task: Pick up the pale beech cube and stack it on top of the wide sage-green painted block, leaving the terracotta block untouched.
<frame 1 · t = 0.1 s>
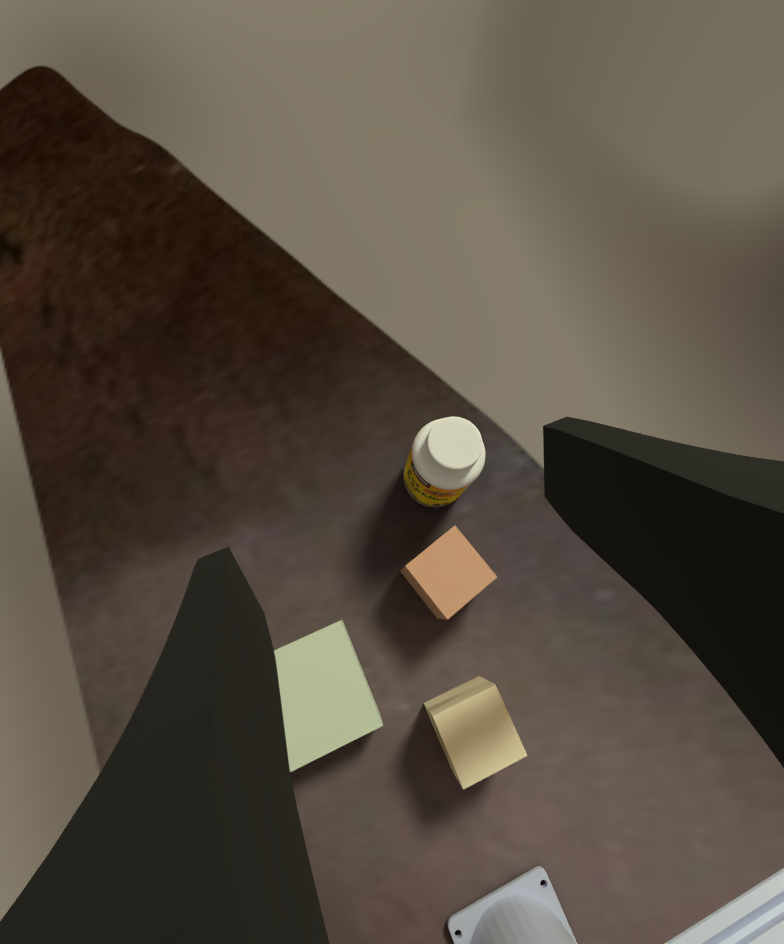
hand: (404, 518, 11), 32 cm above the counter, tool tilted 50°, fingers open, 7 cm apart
terracotta block: (440, 575, 42), on the counter
beech cube: (464, 720, 39), on the counter
sage block: (314, 688, 39), on the counter
supplement bottle: (433, 479, 44), on the counter
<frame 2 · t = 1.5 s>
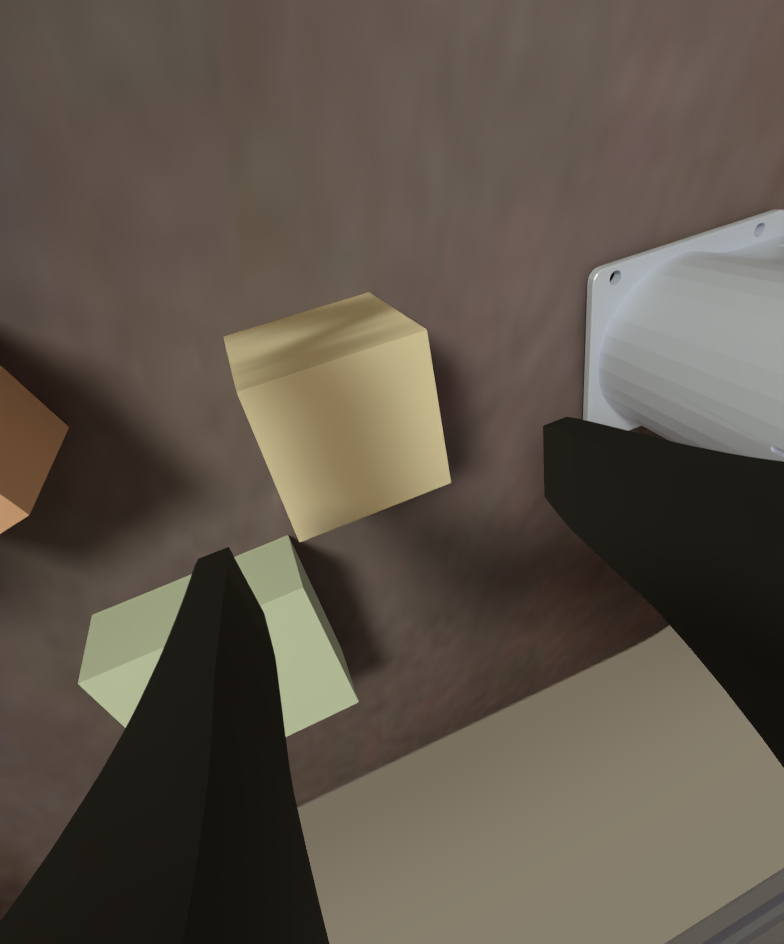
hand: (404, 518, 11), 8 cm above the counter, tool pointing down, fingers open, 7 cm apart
beech cube: (318, 381, 18), on the counter
sage block: (232, 628, 22), on the counter
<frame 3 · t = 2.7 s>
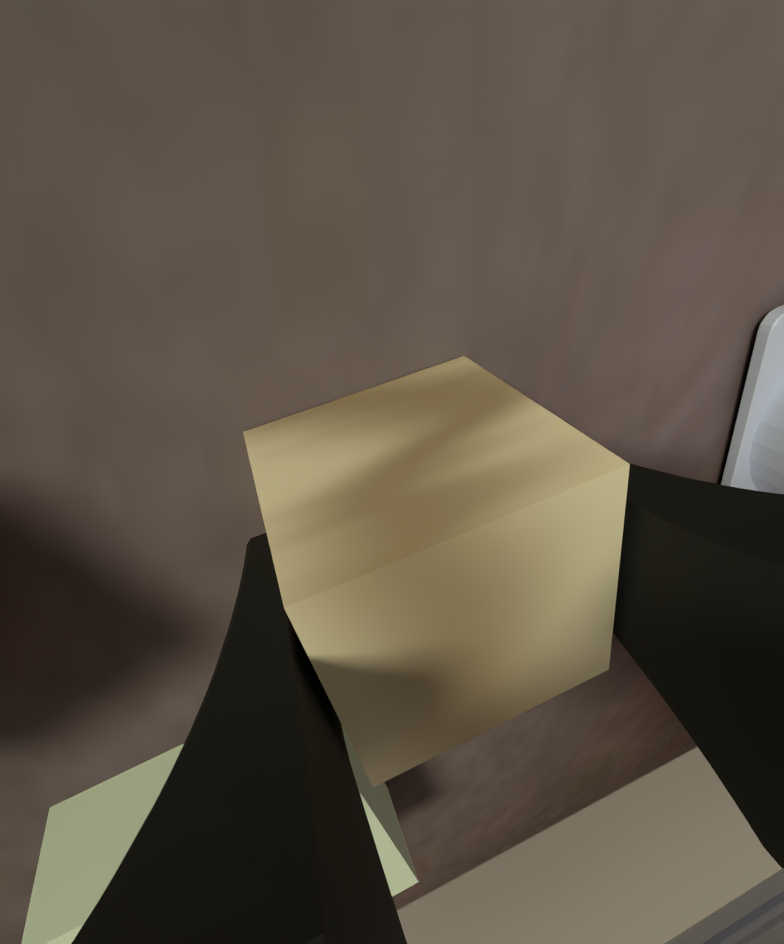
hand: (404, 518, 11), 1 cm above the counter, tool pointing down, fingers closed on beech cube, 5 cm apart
beech cube: (382, 485, 12), on the counter, touching gripper
sage block: (247, 786, 17), on the counter
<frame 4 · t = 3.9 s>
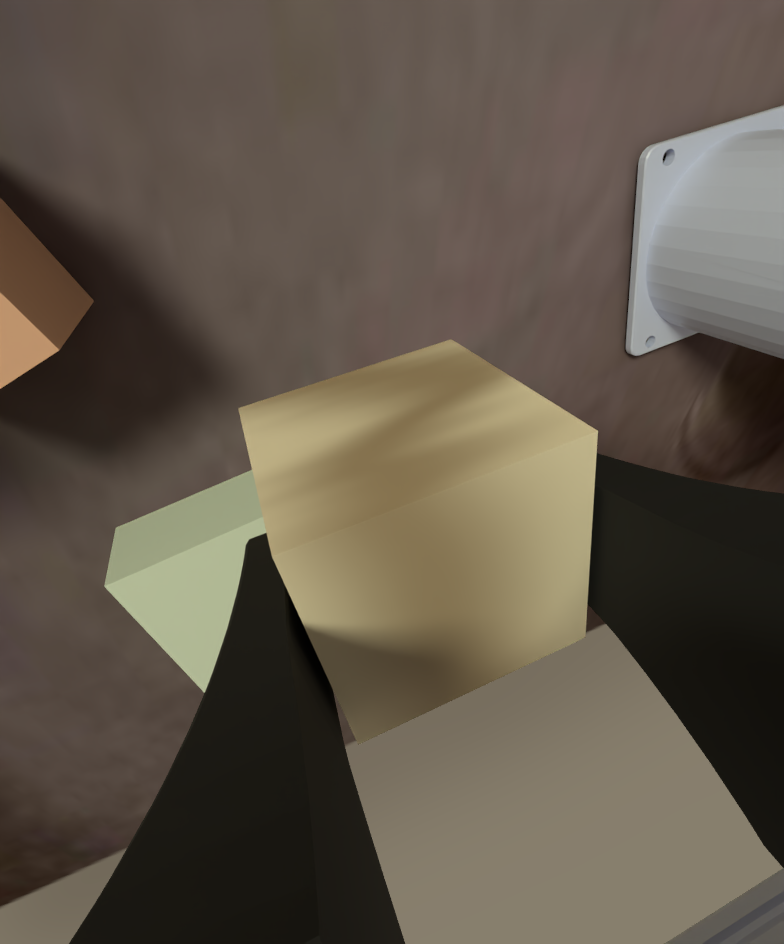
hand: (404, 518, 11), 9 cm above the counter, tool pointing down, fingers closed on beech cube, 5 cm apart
beech cube: (372, 464, 12), point 7 cm above the counter, touching gripper
sage block: (261, 550, 21), on the counter
when the fingers open (6 cm above the counter, at t = 5.4 s): beech cube stays where it is, resting on sage block.
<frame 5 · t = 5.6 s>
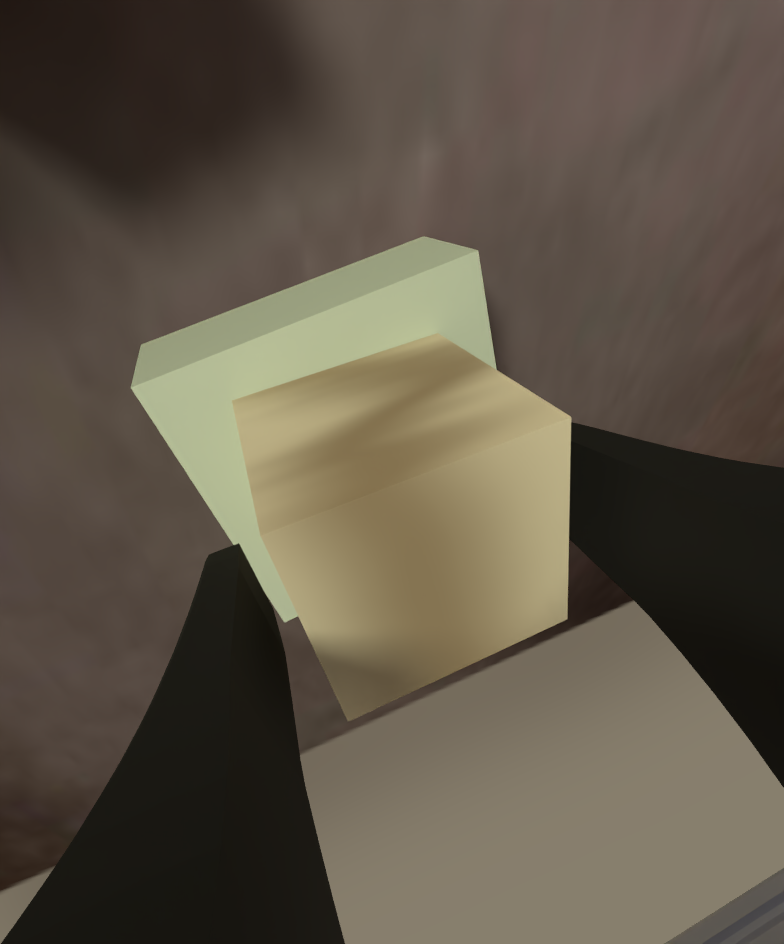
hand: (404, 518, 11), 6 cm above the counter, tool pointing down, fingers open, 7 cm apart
beech cube: (363, 455, 13), point 3 cm above the counter, touching sage block
sage block: (334, 410, 16), on the counter, touching beech cube
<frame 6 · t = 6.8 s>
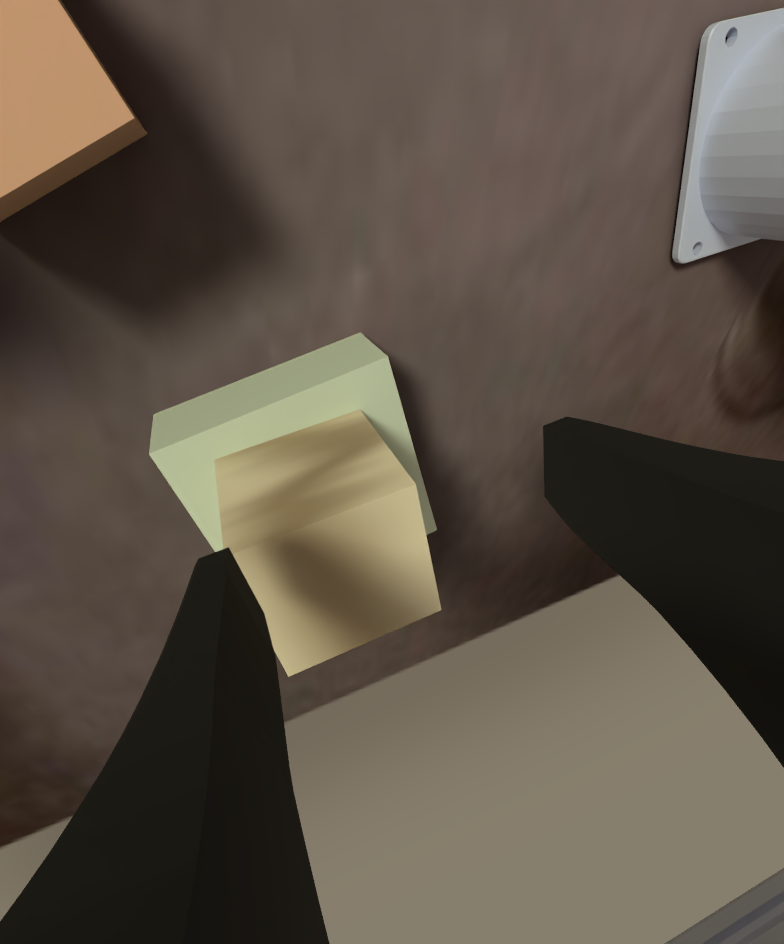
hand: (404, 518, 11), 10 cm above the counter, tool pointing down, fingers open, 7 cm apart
beech cube: (310, 492, 18), point 3 cm above the counter, touching sage block
sage block: (297, 454, 21), on the counter, touching beech cube
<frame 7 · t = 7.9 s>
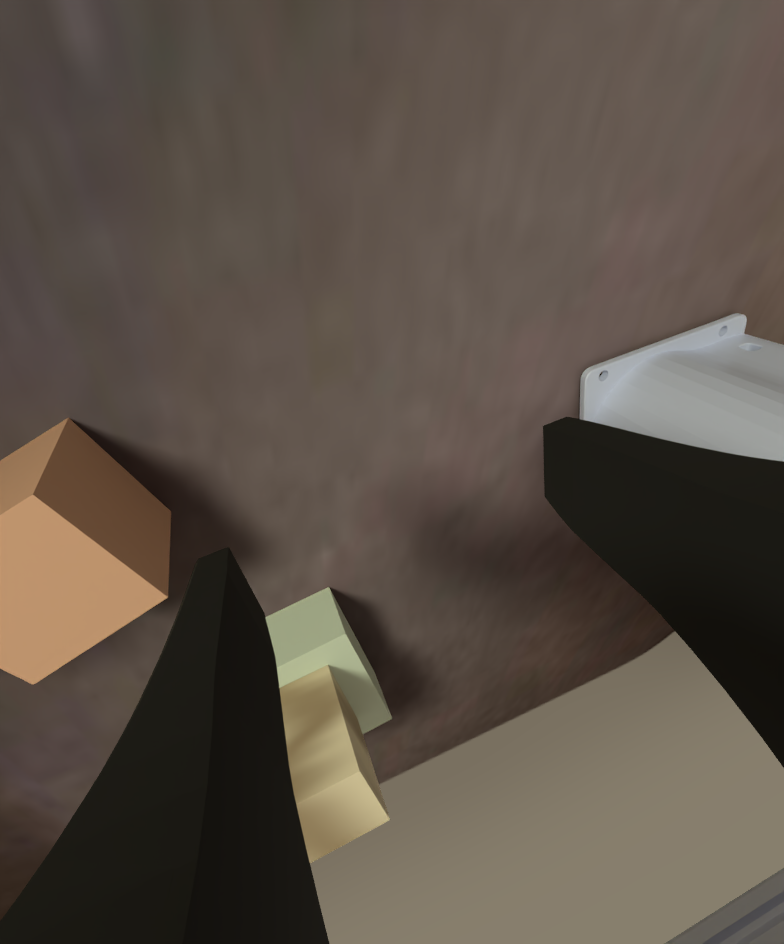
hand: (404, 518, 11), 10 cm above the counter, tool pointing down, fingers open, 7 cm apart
terracotta block: (66, 504, 18), on the counter
beech cube: (295, 716, 24), point 3 cm above the counter, touching sage block
sage block: (284, 661, 27), on the counter, touching beech cube
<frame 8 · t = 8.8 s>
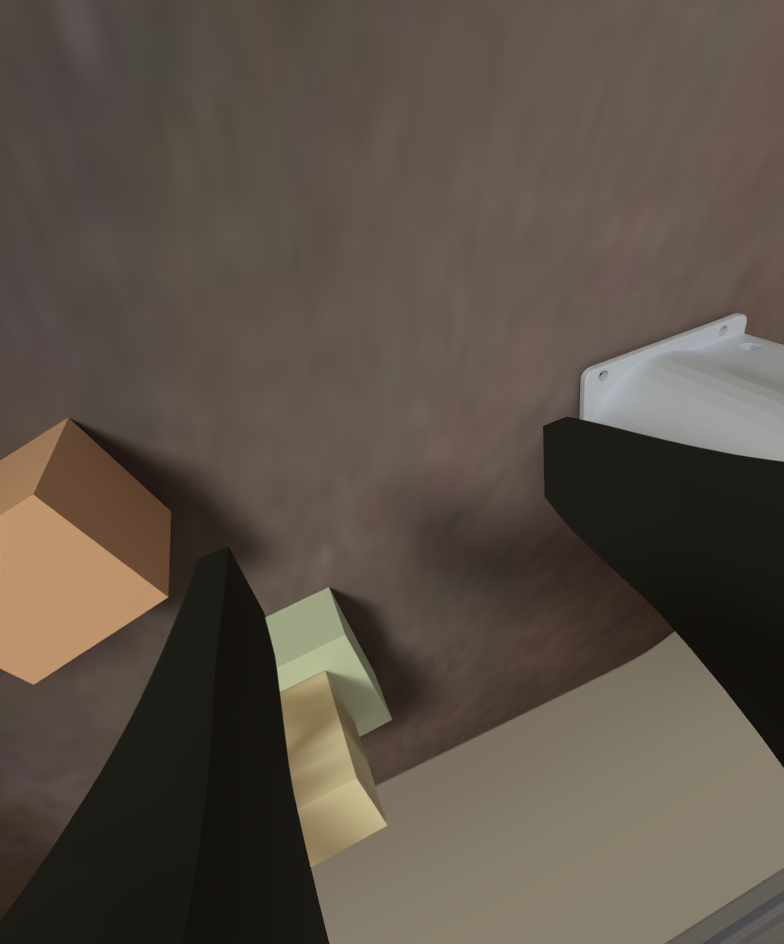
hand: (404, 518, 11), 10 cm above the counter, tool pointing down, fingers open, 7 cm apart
terracotta block: (66, 504, 18), on the counter
beech cube: (293, 722, 24), point 3 cm above the counter, touching sage block
sage block: (284, 661, 27), on the counter, touching beech cube
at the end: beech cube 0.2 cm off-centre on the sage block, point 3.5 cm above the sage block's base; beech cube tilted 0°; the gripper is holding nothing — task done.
